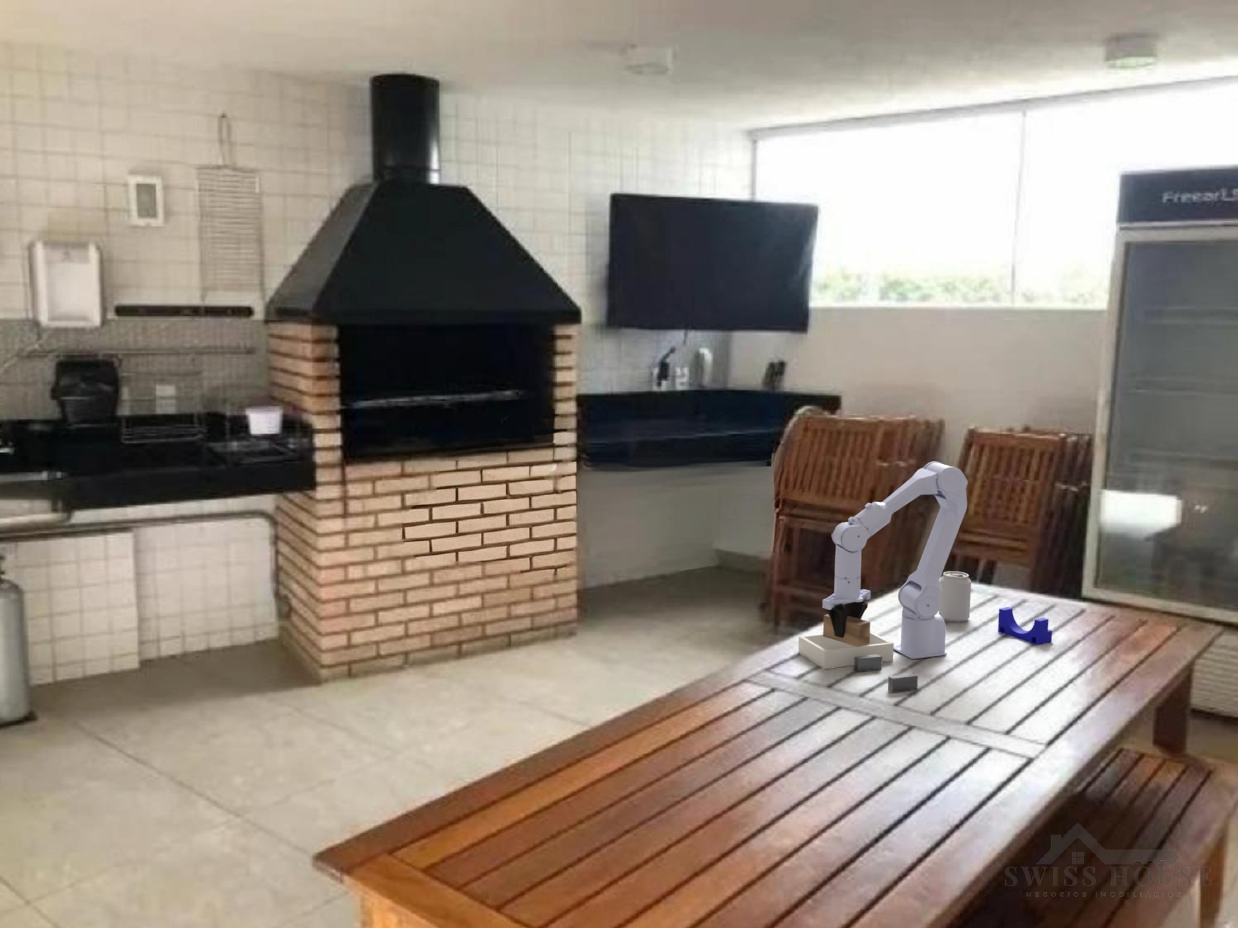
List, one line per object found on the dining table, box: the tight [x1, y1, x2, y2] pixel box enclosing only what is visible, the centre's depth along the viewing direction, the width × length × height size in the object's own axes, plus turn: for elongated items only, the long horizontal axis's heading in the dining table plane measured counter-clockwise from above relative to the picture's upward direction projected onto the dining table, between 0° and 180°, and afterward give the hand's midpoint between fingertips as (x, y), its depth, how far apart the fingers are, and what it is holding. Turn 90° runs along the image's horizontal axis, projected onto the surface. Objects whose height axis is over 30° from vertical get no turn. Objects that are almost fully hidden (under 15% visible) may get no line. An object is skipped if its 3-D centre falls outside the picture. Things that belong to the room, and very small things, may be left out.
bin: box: [798, 630, 895, 670], centre depth 238 cm, size 18×12×4 cm, turn 109°
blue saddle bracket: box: [997, 606, 1053, 646], centre depth 253 cm, size 12×4×6 cm, turn 29°
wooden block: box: [822, 613, 871, 647], centre depth 237 cm, size 4×10×5 cm, turn 39°
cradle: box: [853, 654, 919, 694], centre depth 223 cm, size 6×15×3 cm, turn 19°
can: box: [938, 570, 972, 623], centre depth 267 cm, size 8×8×12 cm
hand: (845, 634), depth 238 cm, fingers closed on wooden block, 4 cm apart
